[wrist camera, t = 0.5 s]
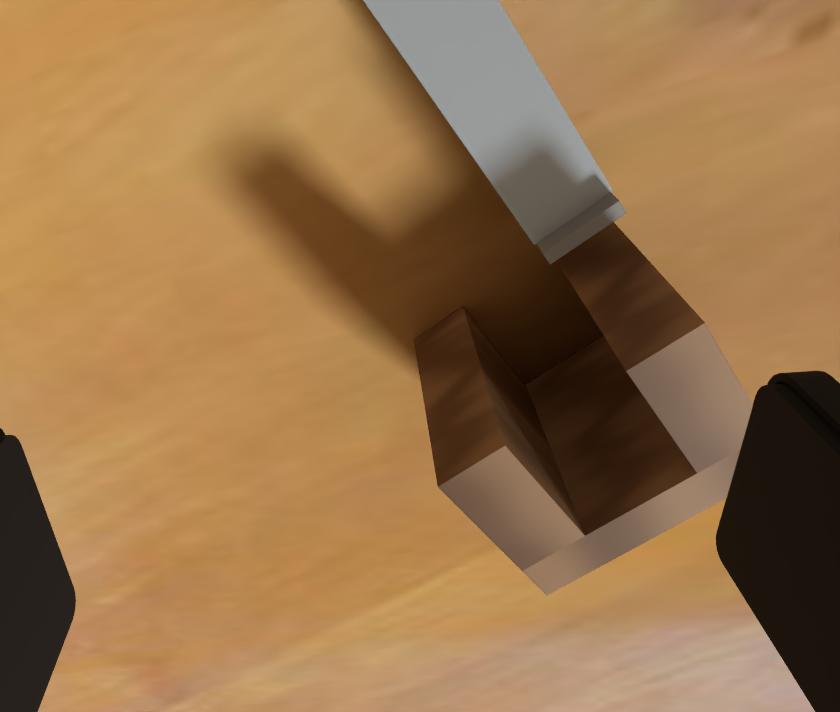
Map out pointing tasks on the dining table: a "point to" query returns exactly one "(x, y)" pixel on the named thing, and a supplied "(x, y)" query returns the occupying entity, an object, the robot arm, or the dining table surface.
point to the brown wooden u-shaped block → (586, 422)
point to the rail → (504, 116)
